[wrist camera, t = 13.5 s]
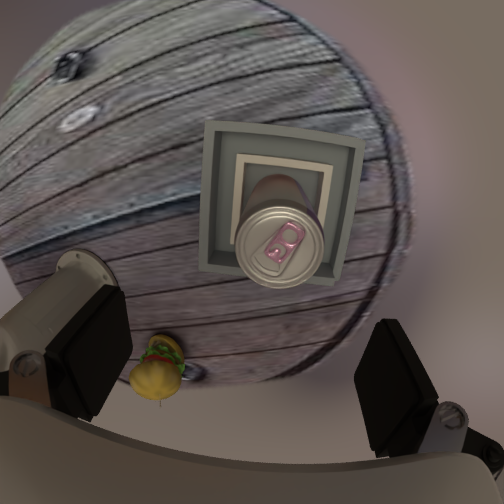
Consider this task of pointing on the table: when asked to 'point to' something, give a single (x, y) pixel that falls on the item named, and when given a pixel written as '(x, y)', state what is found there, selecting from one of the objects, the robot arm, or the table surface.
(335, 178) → the box
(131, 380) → the hamburger
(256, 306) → the table surface
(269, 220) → the beverage can
